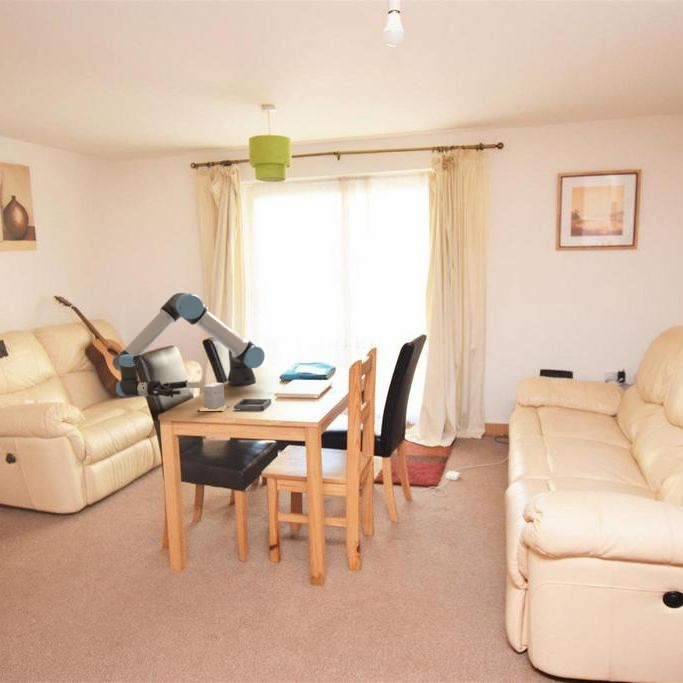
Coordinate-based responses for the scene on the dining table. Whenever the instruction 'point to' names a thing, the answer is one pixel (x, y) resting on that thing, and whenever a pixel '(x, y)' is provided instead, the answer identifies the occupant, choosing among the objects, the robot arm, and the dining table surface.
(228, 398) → the dining table surface
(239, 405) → the holding frame
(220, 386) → the small box
